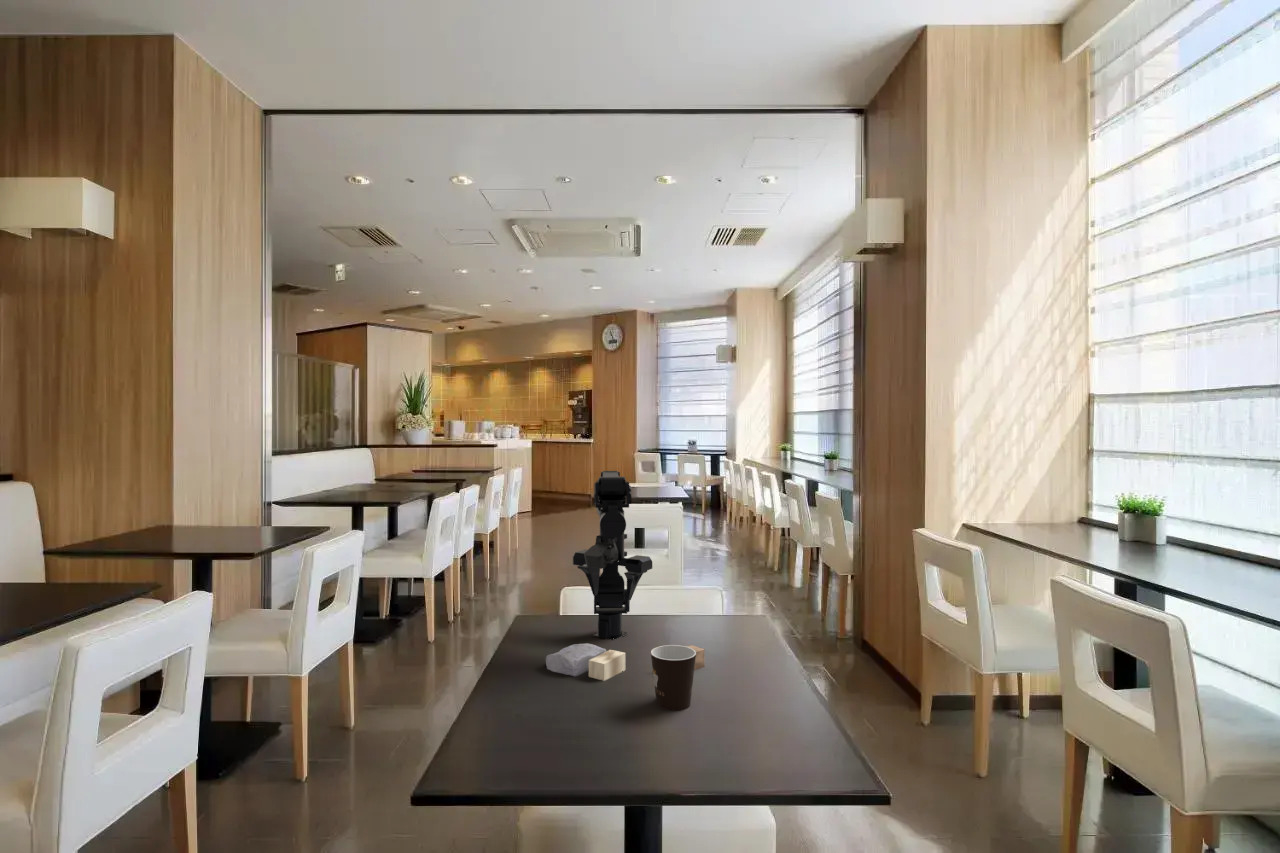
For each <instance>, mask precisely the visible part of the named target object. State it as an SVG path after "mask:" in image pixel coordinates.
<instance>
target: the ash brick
mask: <svg viewBox="0 0 1280 853" xmlns="http://www.w3.org/2000/svg"><path fill="white" fill-rule="evenodd" d="M622 671H623V672H625V671H626V652H624V651H623V652H622V651H619V650H615V649H614V650H613V649H609V650H606V652H604V653H602V654H600V655H598V656H596V657H594V658H592V659H590V660H589V671H588V677H589V678H593V679H596V680H599V681H603V682H605V681H607V680H609V679H611V678H613V677H615V676H616V675H618V674H620V673H623V672H622Z"/></svg>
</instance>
